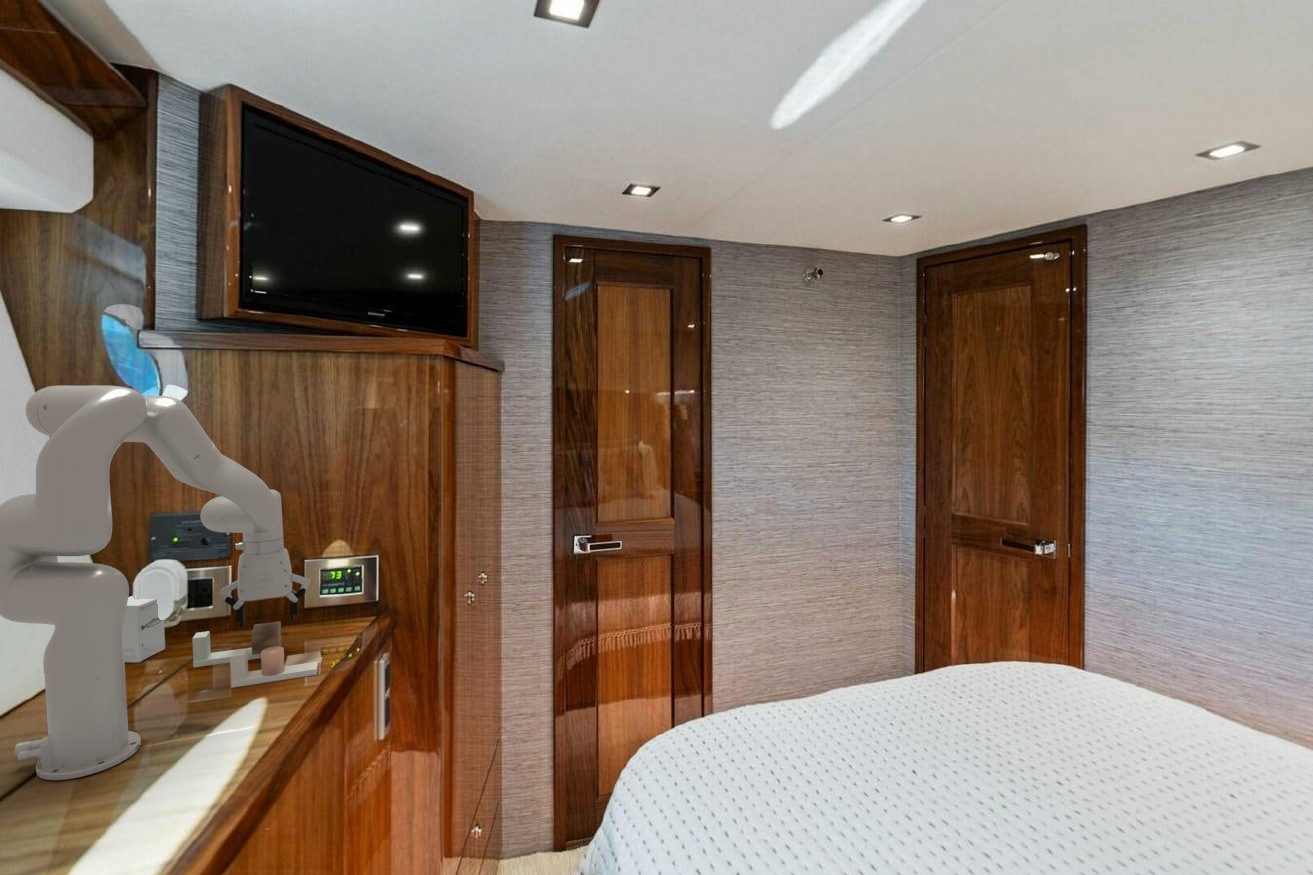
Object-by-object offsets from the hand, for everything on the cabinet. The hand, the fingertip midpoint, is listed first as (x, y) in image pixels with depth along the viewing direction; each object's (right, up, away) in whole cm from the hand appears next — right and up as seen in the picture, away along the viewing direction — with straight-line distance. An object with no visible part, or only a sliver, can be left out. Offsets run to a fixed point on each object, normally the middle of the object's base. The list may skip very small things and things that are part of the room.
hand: (268, 621), depth 143 cm
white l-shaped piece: (-5, -7, -2) cm, 9 cm away
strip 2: (+9, -8, -11) cm, 16 cm away
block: (0, -6, 0) cm, 6 cm away
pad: (+10, -8, -3) cm, 13 cm away
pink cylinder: (+8, -7, -12) cm, 16 cm away
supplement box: (-29, -8, 0) cm, 30 cm away
